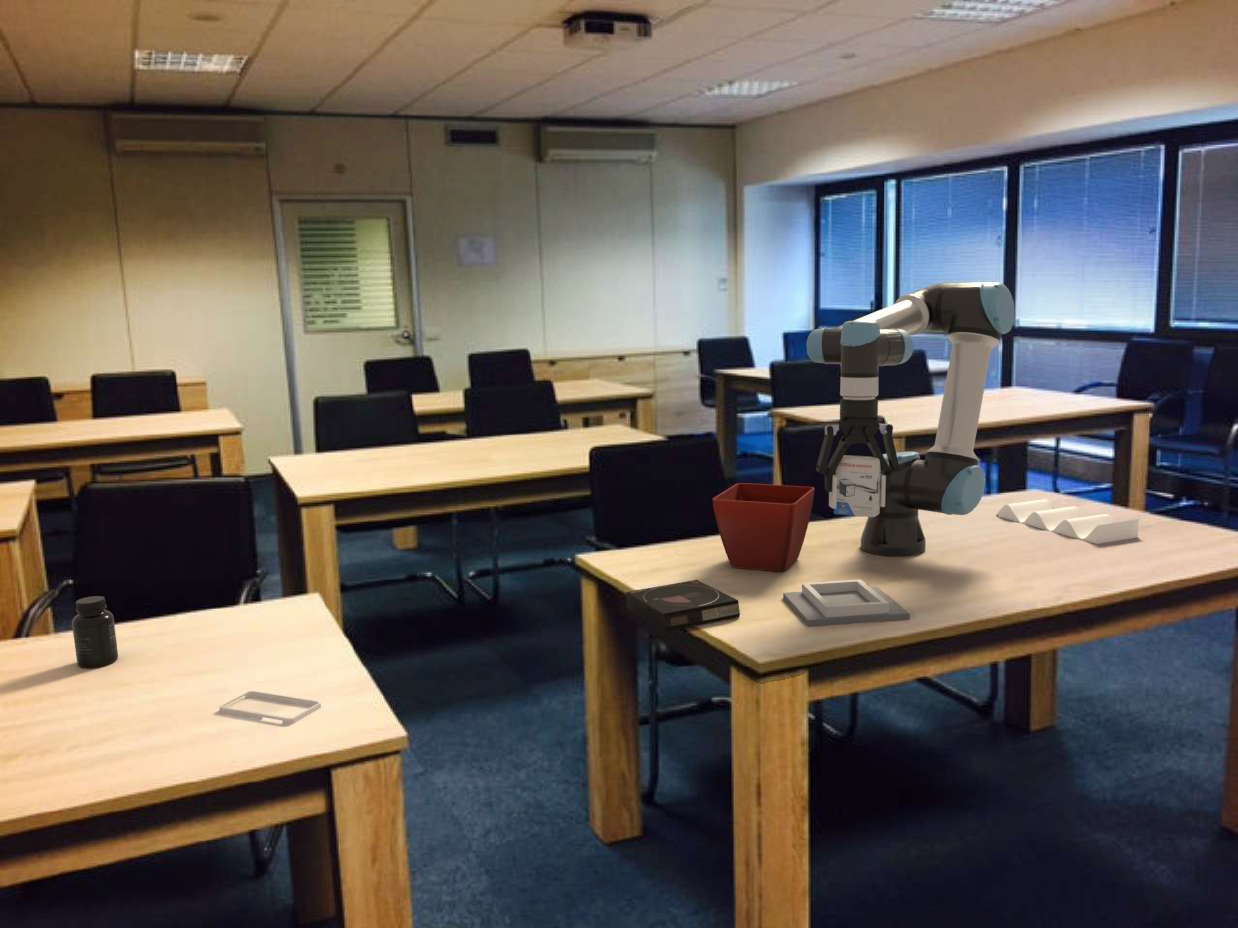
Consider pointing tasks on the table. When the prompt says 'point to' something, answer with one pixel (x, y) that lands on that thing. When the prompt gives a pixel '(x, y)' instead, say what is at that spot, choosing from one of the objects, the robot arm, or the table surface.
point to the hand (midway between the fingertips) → (856, 506)
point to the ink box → (858, 486)
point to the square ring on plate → (843, 603)
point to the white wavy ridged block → (1070, 522)
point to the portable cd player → (682, 605)
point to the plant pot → (763, 524)
